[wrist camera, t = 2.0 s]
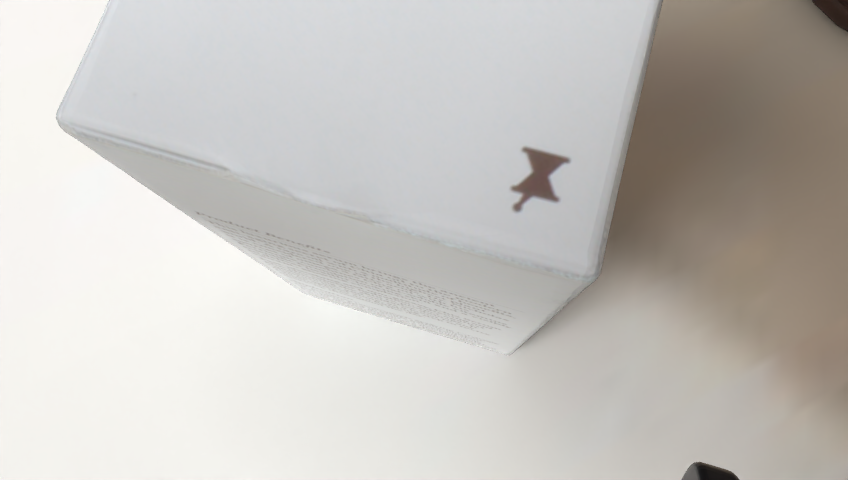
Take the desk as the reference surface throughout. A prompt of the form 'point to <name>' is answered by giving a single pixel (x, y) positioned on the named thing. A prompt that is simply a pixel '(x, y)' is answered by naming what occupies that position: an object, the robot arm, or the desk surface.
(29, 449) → the desk surface
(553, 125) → the skincare box
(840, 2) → the dark brown curved piece
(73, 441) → the desk surface
